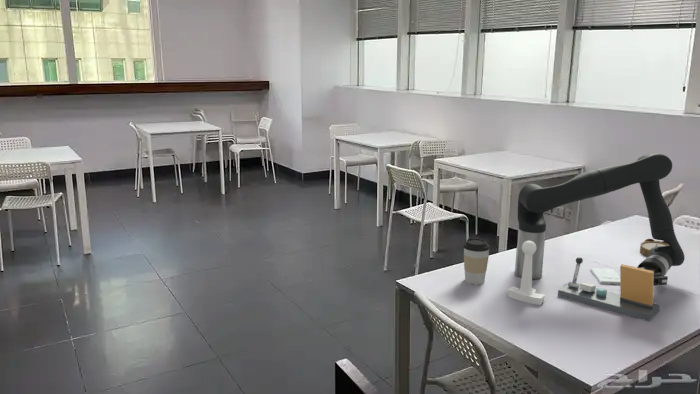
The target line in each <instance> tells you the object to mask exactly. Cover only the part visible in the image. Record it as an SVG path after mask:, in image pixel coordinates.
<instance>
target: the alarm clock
mask: <svg viewBox="0 0 700 394" xmlns="http://www.w3.org/2000/svg"><path fill="white" fill-rule="evenodd" d="M657 246H669V245H668V243H667V242H665V241H662V240H656V239H653V238H647V239H645V240H644V241H643V242H640V248H639V254H641V255H643V256H646V257H648V256H650V255H649V254H650V250H651V249H652V248H653V247H657Z"/></svg>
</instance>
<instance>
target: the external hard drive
mask: <svg viewBox="0 0 700 394" xmlns="http://www.w3.org/2000/svg"><path fill="white" fill-rule="evenodd" d="M589 271H590V273H592V274H591V275H593V276H594V277H595V279H596V280H597V281H598V283H599V284H600V285H618V286H620V276H619V275H620V274H618V273H617V271H615V270H614V269H612V268H597V267H595V268H594V267H593V268H592V267H591V268H590V270H589Z"/></svg>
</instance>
